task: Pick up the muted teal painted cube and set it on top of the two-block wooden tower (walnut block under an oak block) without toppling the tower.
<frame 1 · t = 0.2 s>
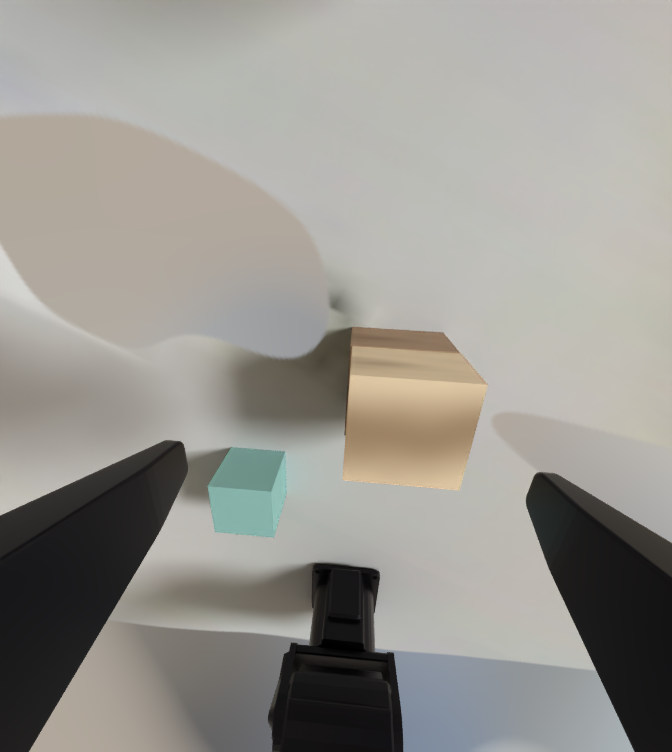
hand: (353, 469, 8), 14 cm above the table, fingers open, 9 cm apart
tower base: (391, 370, 22), on the table, touching tower top
teal cube: (259, 470, 27), on the table
tower top: (399, 397, 19), point 4 cm above the table, touching tower base
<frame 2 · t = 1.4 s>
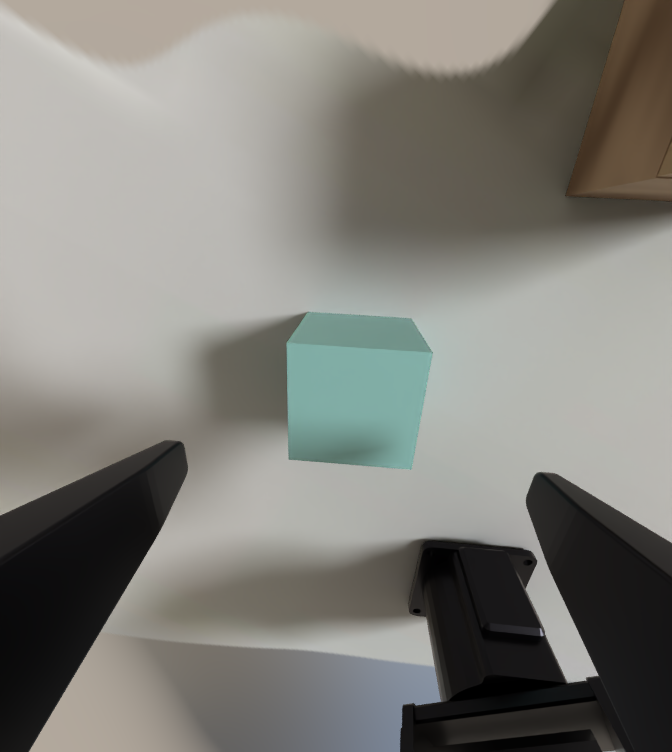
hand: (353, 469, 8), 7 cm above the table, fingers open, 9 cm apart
teal cube: (355, 362, 15), on the table
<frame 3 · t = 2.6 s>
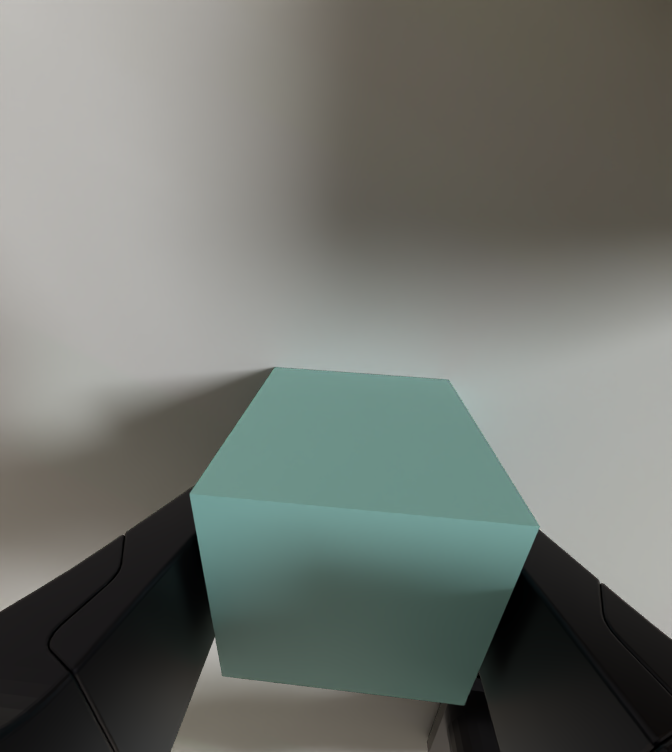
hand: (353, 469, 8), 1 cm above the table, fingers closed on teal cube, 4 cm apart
teal cube: (354, 445, 9), on the table, touching gripper
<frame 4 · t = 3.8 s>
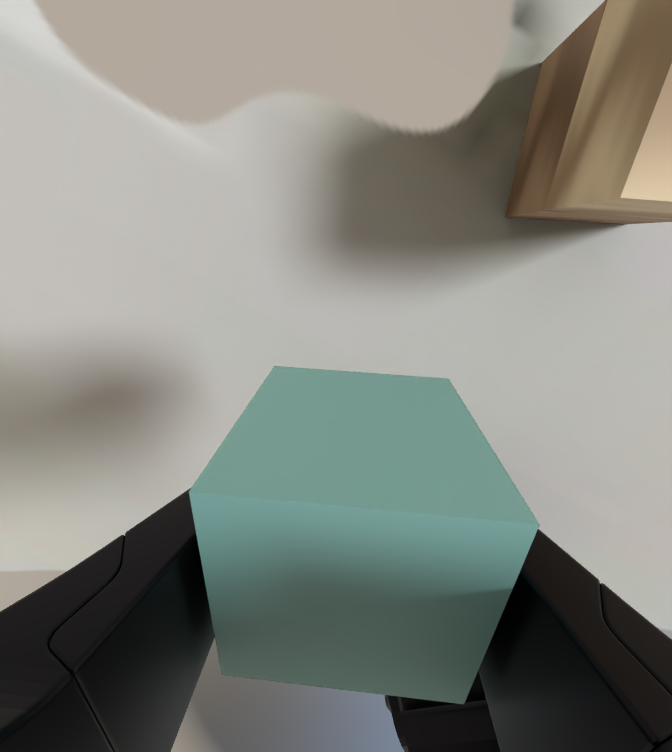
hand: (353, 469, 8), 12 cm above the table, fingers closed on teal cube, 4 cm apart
tower base: (586, 149, 15), on the table
teal cube: (354, 444, 9), point 11 cm above the table, touching gripper
tower top: (659, 121, 11), point 4 cm above the table
when the fingers open (10 cm above the table, at t = 5.4 s): teal cube drops 1 cm, point 8 cm above the table.
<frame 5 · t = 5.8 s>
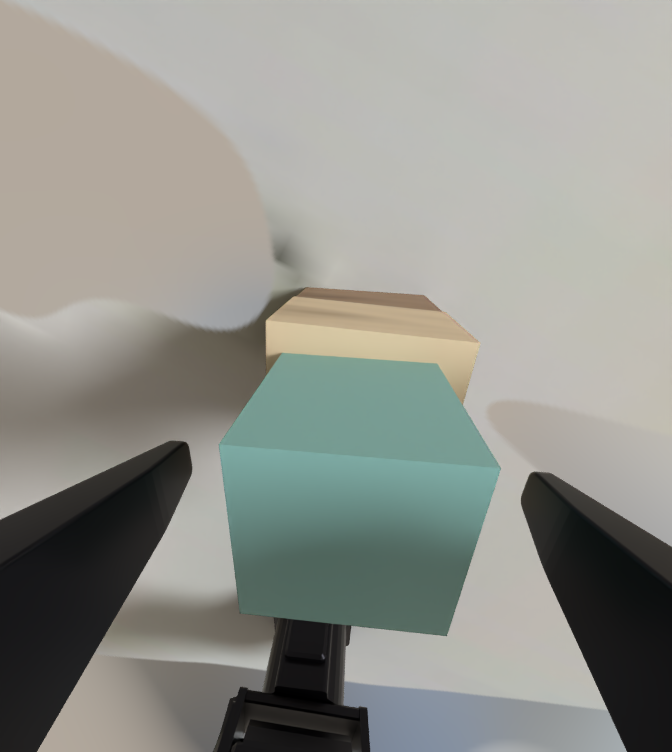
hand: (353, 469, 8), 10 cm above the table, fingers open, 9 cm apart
tower base: (359, 346, 17), on the table, touching tower top
teal cube: (353, 424, 10), point 8 cm above the table
tower top: (359, 373, 14), point 4 cm above the table, touching tower base
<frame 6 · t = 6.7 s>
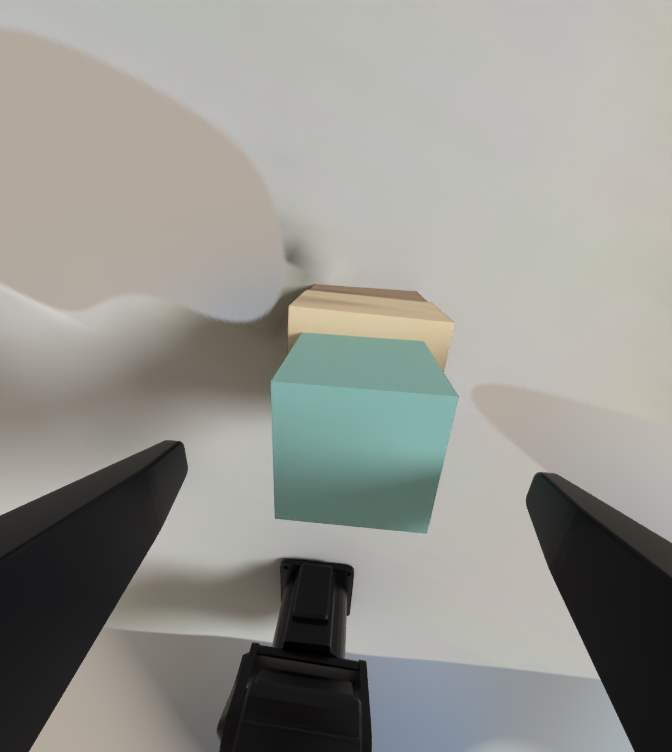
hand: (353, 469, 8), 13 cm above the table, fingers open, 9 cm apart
tower base: (360, 336, 20), on the table, touching tower top
teal cube: (357, 391, 13), point 8 cm above the table, touching tower top
tower top: (361, 355, 16), point 4 cm above the table, touching teal cube, tower base
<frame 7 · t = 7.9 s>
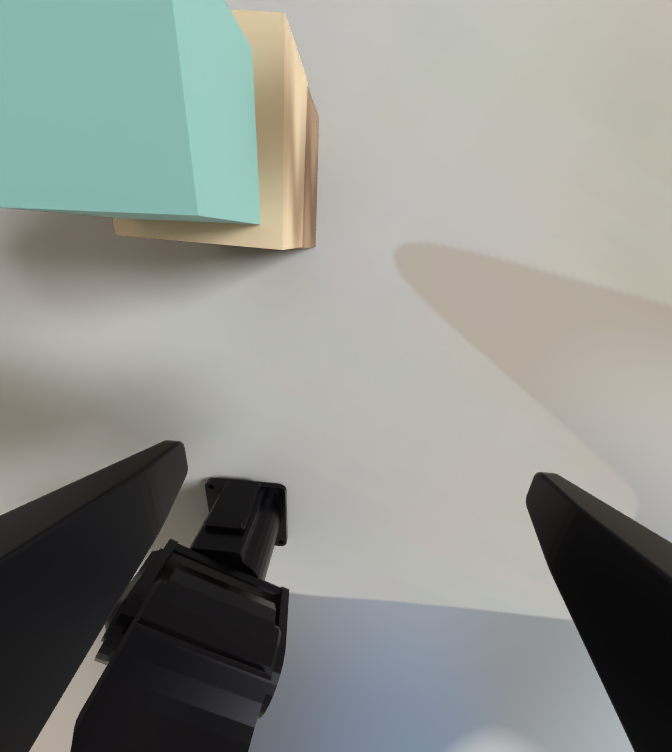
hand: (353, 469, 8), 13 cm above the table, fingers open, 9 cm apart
tower base: (262, 184, 17), on the table, touching tower top
teal cube: (186, 142, 10), point 8 cm above the table, touching tower top
tower top: (235, 165, 14), point 4 cm above the table, touching teal cube, tower base
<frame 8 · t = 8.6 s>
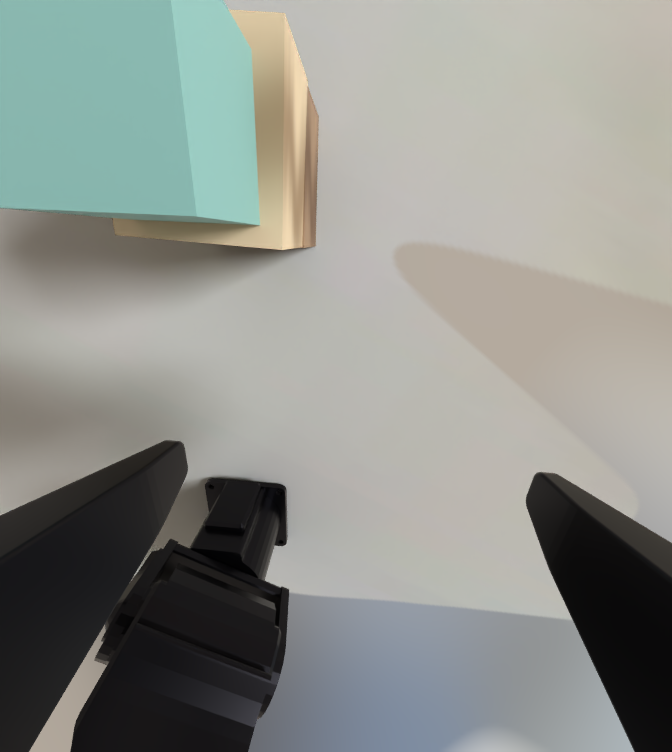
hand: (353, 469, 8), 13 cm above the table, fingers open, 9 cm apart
tower base: (262, 183, 17), on the table, touching tower top
teal cube: (185, 143, 10), point 8 cm above the table, touching tower top
tower top: (235, 165, 14), point 4 cm above the table, touching teal cube, tower base
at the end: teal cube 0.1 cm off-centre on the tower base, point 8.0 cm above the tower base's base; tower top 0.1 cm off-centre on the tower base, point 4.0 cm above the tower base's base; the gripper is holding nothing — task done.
